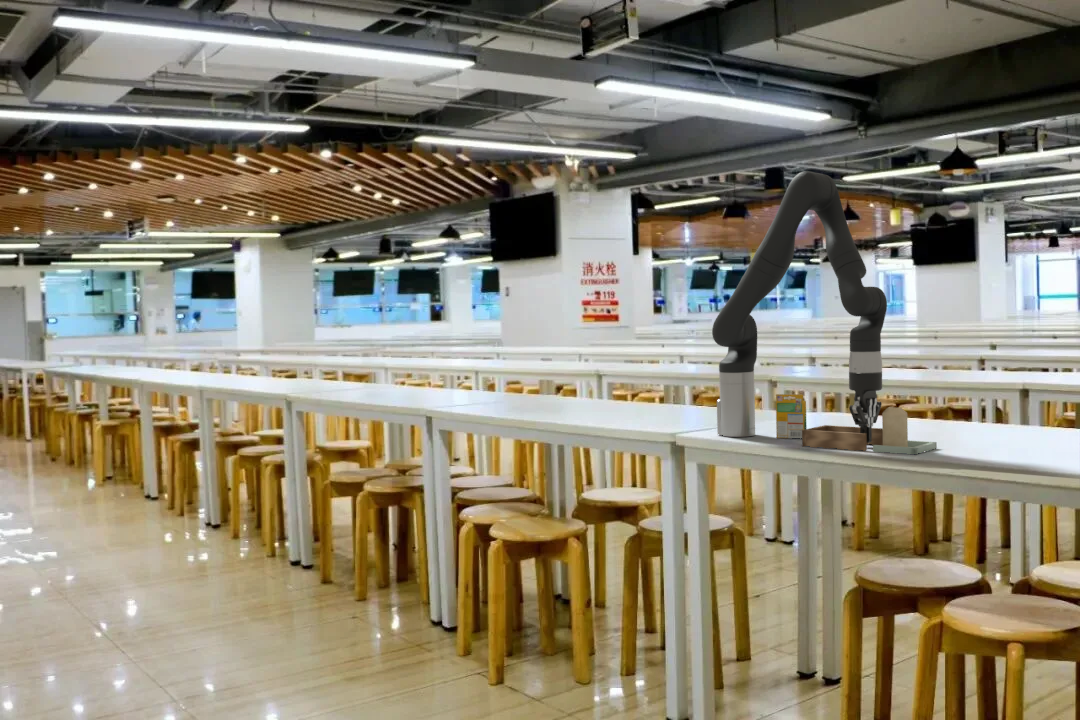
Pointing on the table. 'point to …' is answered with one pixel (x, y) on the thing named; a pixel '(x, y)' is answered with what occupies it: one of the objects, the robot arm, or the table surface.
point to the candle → (895, 427)
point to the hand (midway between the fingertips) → (865, 442)
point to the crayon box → (790, 416)
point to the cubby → (840, 437)
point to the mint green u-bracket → (913, 447)
